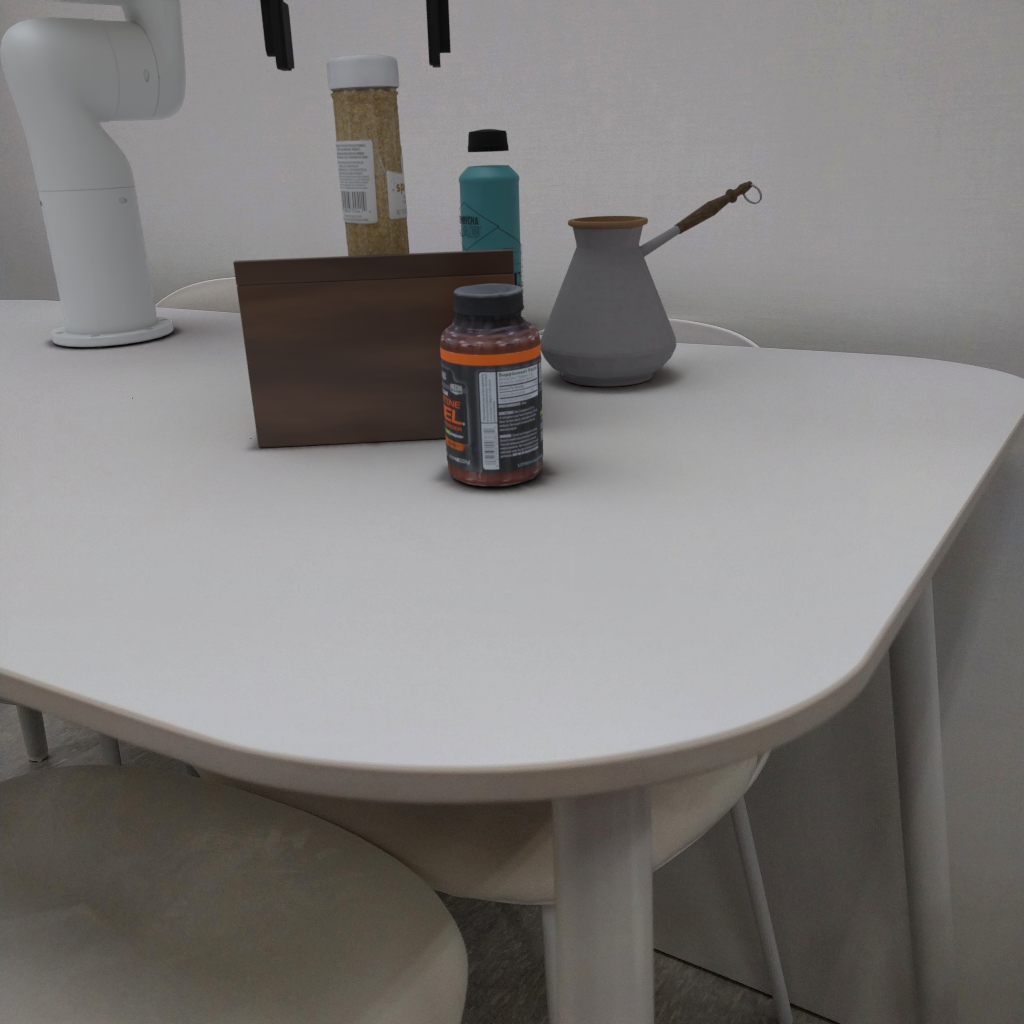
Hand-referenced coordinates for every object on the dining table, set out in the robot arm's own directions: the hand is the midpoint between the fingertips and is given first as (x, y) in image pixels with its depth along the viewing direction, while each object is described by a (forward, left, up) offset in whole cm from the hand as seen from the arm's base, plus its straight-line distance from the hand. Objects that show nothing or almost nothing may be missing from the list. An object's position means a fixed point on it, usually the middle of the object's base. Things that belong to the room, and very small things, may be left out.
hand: (360, 68), depth 63 cm
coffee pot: (-13, +22, -24) cm, 35 cm away
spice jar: (0, 0, -13) cm, 13 cm away
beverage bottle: (-35, +9, -24) cm, 44 cm away
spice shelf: (-3, 0, -24) cm, 24 cm away
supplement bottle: (+13, +7, -24) cm, 28 cm away
